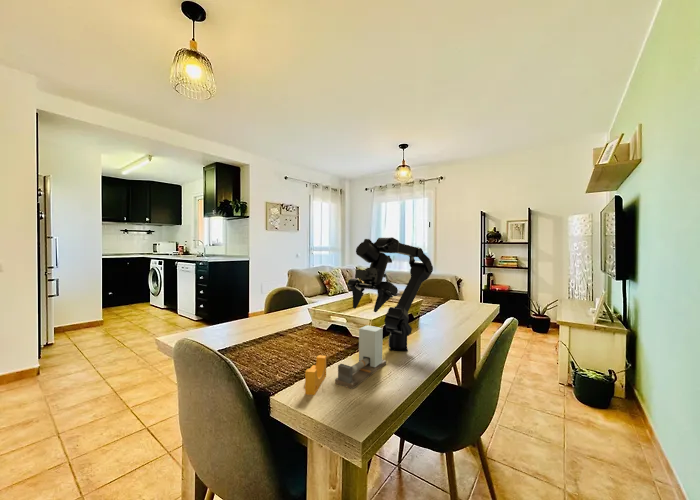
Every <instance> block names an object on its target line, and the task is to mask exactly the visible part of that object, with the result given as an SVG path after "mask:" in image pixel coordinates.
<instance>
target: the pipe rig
mask: <svg viewBox="0 0 700 500" xmlns="http://www.w3.org/2000/svg"><path fill="white" fill-rule="evenodd" d="M337 365H338V366H337V377H336V378H334V383H335V384H337V385H339V386H343V387H346V388H348V389H352V390H353V389H355V388H356V387H357V386H359V384H361V383H362V382H364V381H365V380H367V379H368V378H370V377H371V376H372V375H373V374H374V373H377V372H378V371H379V370H380V369H381V368H383V367H384V366H386V365H387V360H385V359H382V363H381V364H379V365H378V366H376V367H371V366H370V358H369V357H366V358H365V359H363V360H361V361H359V360H358V362H357V363H355V364H353V365H348V364H344V363H339V364H337Z"/></svg>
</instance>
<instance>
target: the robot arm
mask: <svg viewBox="0 0 700 500" xmlns="http://www.w3.org/2000/svg"><path fill="white" fill-rule="evenodd" d="M355 254H356V255H357V256H358V257H360V258H361V259H362V260H363V261H365V262H366V263H368V264H370V265H369V267H366V268H365V269H356V268H355V274H354V278H350V279H348V281H347V284H346V285H347V286H348V288H349V289H350V290H351V292H352V308H353V309H354V310H355V309H357V307H358V305H359V303H360V302H361V300H362V298H363V296H364V291H365V290H374V291H377V296H376V300H375V304H374V307H373V312H374V313H377V312H378V311H379V310H380V309H381V308H382V306H384V305H385V304H386V303H387V302H388V301H389V300H390V299H392V298H394V297H396V296H397V295H398V293H399V292H398V291H399V290H398V287H397V286H396V285H394V284H393V283H392V282H391V281H383V279H385V278H386V277H387V274H385V272H386V270H387V266H388V264H389V263H390V264H392V263H393V259H392V258H391V256H390V255H387V254H400V255H404V256H408V257H409V260H408V264H409V267H410V270H409V273H410V278H409V280H408V282H407V284H406V286H405V288H404V290H403V292H402V294H401V295H400V298H399V300H398V302H397V304H396V305H395V306H394V307H393V306H392V307H391V306H389V308H388V309H387V312H386V313H385V318H384V319H383V320H384V321H383V322H384V326H385V330H386V332H389V334H388V348H389V349H390V351H391V352H408V351H409V349H408V336H410V335H412V331H413V328H412V327H411V325H410V324H409V321H410V320H409V319H410V318H409V310H410V308H411V306H412V305H413V302H414V300H415V299H416V296H417V293H418V292H419V290H420V288H421V286H422V284H423V283H424V282H425V281H427V280H428V279H429V278H430V276H431V275H432V273H433V271H434V267H433V264H432V261H431V259H430V258H429V257H428V256H427V254H425V253H424V250H423V249H422V248H421V247H418V246H414V245H409V244H404V243H401V242H400V241H399V240H398V239H396V238H394V237H378V238H377V239H376V241H375V242H373V241H372V240H371V239H370V238H364V240H363V241H362V242H361V243H359V244H358V246H356V249H355ZM415 258H418V259H419V260H415ZM359 279H360V280H359ZM393 296H394V297H393Z"/></svg>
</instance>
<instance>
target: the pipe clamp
mask: <svg viewBox="0 0 700 500" xmlns="http://www.w3.org/2000/svg"><path fill="white" fill-rule="evenodd" d="M315 359H316V362H315V364H313V365H312V366H310V368H307V369H306V370H305V376H304V377H305V378H304V380H305V381H304V385H305V387H304V389H305V390H304V395H308V396H316V393H317V392H318V390H319V388H320V387H321V386H322V384H323V382H324V380H325V379H326V378H327V355H319V354H318V355H317V356H316V357H315Z"/></svg>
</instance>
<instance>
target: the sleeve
mask: <svg viewBox="0 0 700 500" xmlns="http://www.w3.org/2000/svg"><path fill="white" fill-rule="evenodd" d="M383 330H384V329H383V327H378V326H374V325H373V326H372V325H368V324H367V325H364V326H362V327H359V328H358V362H359V361H361V360H363V359H365V358H366V357H369V358H370V366H371V367H376V366H378V365H379V364H381V363H382V360H383Z"/></svg>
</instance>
